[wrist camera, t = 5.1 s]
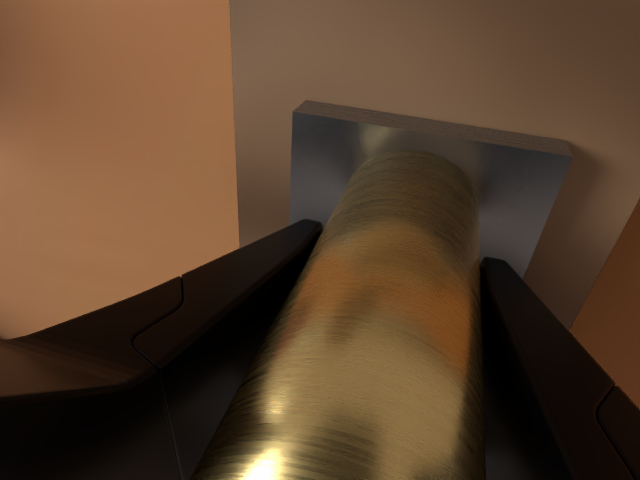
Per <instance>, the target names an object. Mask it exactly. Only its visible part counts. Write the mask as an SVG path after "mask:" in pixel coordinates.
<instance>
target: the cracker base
mask: <svg viewBox="0 0 640 480" xmlns="http://www.w3.org/2000/svg"><path fill="white" fill-rule="evenodd" d="M229 4H230V28H231V52H232V75H233V99H234V123H235V147H236V171H237V195H238V218H239V242H240V248H241V247H244V246H246V245H248V244H250V243H252V242H254V241H257V240H259V239H261V238H263V237H265V236H267V235H270V234H272V233H274V232H276V231H278V230H281V229H283V228H285V227H287V226H289V205H290V174H291V144H292V113H293V111H294V110H295V109H296V108H297V107H298V106H300V105H301V104H302V103H303V102H304V101H305V100H309V101H315V102H322V103H328V104H335V105H341V106H348V107H354V108H361V109H367V110H374V111H380V112H387V113H393V114H400V115H406V116H413V117H419V118H426V119H432V120H439V121H445V122H452V123H458V124H464V125H471V126H477V127H484V128H490V129H497V130H503V131H510V132H516V133H523V134H529V135H536V136H542V137H549V138H555V139H562V140H565V141H566V143H567V145H568V147H569V149H570V151H571V153H572V155H573V158H572V161H571V163H570V166H569V168H568V170H567V173H566V175H565V178H564V180H563V182H562V185H561V187H560V190H559V192H558V194H557V197H556V199H555V202H554V204H553V207H552V209H551V211H550V214H549V216H548V219H547V221H546V223H545V226H544V228H543V231H542V233H541V235H540V238H539V240H538V243H537V245H536V247H535V250H534V252H533V255H532V257H531V259H530V262H529V264H528V267H527V269H526V272H525V274H524V276H523V280H524V282H525V283H526V284H527V285H528V286H529V287H530V288H531V289H532V290H533V292H534V293H535V294H536V295H537V296H538V297H539V298H540V299H541V300H542V302H543V303H544V304H545V305H546V306H547V307H548V308H549V309H550V311H551V312H552V313H553V314H554V315H555V316H556V317H557V318H558V319H559V321H560V322H561V323H562V324H563V325H564V326H565V327H566V328H567V329H568V331H569V329H570V328H571V326H572V324H573V322H574V320H575V318H576V316H577V315H578V313H579V311H580V309H581V307H582V305H583V303H584V301H585V300H586V298H587V296H588V294H589V292H590V290H591V288H592V287H593V285H594V283H595V281H596V279H597V277H598V275H599V273H600V272H601V270H602V268H603V266H604V264H605V262H606V260H607V259H608V257H609V255H610V253H611V251H612V249H613V247H614V245H615V244H616V242H617V240H618V238H619V236H620V234H621V232H622V231H623V229H624V227H625V225H626V223H627V221H628V219H629V217H630V216H631V214H632V212H633V210H634V208H635V206H636V204H637V203H638V201H639V199H640V0H229Z"/></svg>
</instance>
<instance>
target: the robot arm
mask: <svg viewBox="0 0 640 480" xmlns="http://www.w3.org/2000/svg"><path fill="white" fill-rule="evenodd" d="M322 231H323V224H322V223H321V222H319V221H315V220H310V219H302V220H300V221H298V222H296V223H294V224H291V225H289V226H287V227H285V228H283V229H281V230H278V231H276V232H274V233H272V234H270V235H267V236H265V237H263V238H261V239H259V240H257V241H254V242H252V243H250V244H248V245H246V246H244V247H241V248H239V249H237V250H235V251H233V252H231V253H228V254H226V255H224V256H222V257H220V258H217V259H215V260H213V261H211V262H209V263H207V264H204V265H202V266H200V267H198V268H196V269H193V270H191V271H189V272H187V273H185V274H183V275H182V276H181V277H180V276H178V277H176V278H174V279H171V280H169V281H167V282H165V283H163V284H160V285H158V286H156V287H154V288H151V289H149V290H147V291H144V292H142V293H140V294H137V295H135V296H132V297H130V298H127V299H124V300H122V301H119V302H117V303H114V304H112V305H109V306H106V307H104V308H101V309H98V310H95V311H93V312H90V313H87V314H84V315H82V316H79V317H76V318H74V319H71V320H68V321H65V322H63V323H60V324H57V325H55V326H52V327H49V328H46V329H44V330H41V331H38V332H35V333H32V334H29V335H26V336H22V337H18V338H13V339H7V340H0V480H189V479H190V477H191V475H192V473H193V471H194V469H195V468H196V466H197V464H198V462H199V460H200V458H201V456H202V455H203V453H204V451H205V449H206V447H207V445H208V443H209V442H210V440H211V438H212V436H213V434H214V432H215V430H216V429H217V427H218V425H219V423H220V421H221V419H222V417H223V416H224V414H225V412H226V410H227V408H228V406H229V404H230V402H231V401H232V399H233V397H234V395H235V393H236V391H237V389H238V388H239V386H240V384H241V382H242V380H243V378H244V376H245V375H246V373H247V371H248V369H249V367H250V365H251V363H252V362H253V360H254V358H255V356H256V354H257V352H258V350H259V349H260V347H261V345H262V343H263V341H264V339H265V337H266V335H267V334H268V332H269V330H270V328H271V326H272V324H273V322H274V321H275V319H276V317H277V315H278V313H279V311H280V309H281V308H282V306H283V304H284V302H285V300H286V298H287V296H288V295H289V293H290V291H291V289H292V287H293V285H294V283H295V282H296V280H297V278H298V276H299V274H300V272H301V270H302V268H303V267H304V265H305V263H306V261H307V259H308V257H309V255H310V254H311V252H312V250H313V248H314V246H315V244H316V242H317V241H318V239H319V237H320V235H321V233H322ZM480 283H481V317H482V351H483V386H484V420H485V454H486V480H640V409H639V408H638V407H637V406H636V405H635V404H634V403H633V402H632V401H631V399H630V398H629V397H628V396H627V395H626V394H625V393H624V392H623V391H622V389H621V388H620V387H618V386H615V382H614V381H613V380H612V379H611V377H610V376H609V375H608V374H607V373H606V372H605V371H604V370H603V368H602V367H601V366H600V365H599V364H598V363H597V362H596V361H595V360H594V358H593V357H592V356H591V355H590V354H589V353H588V352H587V351H586V350H585V348H584V347H583V346H582V345H581V344H580V343H579V342H578V341H577V340H576V338H575V337H574V336H573V335H572V334H571V333H570V332H569V331H568V329H567V328H566V327H565V326H564V325H563V324H562V323H561V322H560V321H559V319H558V318H557V317H556V316H555V315H554V314H553V313H552V312H551V311H550V309H549V308H548V307H547V306H546V305H545V304H544V303H543V302H542V300H541V299H540V298H539V297H538V296H537V295H536V294H535V293H534V292H533V290H532V289H531V288H530V287H529V286H528V285H527V284H526V283H525V282H524V280H523V279H522V278H521V277H520V276H519V275H518V274H517V273H516V272H515V270H514V269H513V268H512V267H511V266H510V265H509V264H508V263H507V262H506V261H505V260H501V259H496V258H492V257H484V258H483V259H482V261H481V264H480ZM614 386H615V387H614Z"/></svg>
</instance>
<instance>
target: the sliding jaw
mask: <svg viewBox="0 0 640 480" xmlns="http://www.w3.org/2000/svg"><path fill="white" fill-rule="evenodd" d="M572 158H573V155H572V153H571V151H570V149H569V147H568V145H567V143H566V141H565V140H562V139H555V138H549V137H542V136H536V135H529V134H523V133H516V132H510V131H503V130H497V129H490V128H484V127H477V126H471V125H464V124H458V123H452V122H445V121H439V120H432V119H426V118H419V117H413V116H406V115H400V114H393V113H387V112H380V111H374V110H367V109H361V108H354V107H348V106H341V105H335V104H328V103H322V102H315V101H309V100H305V101H304V102H303V103H302V104H301V105H300V106H298V107H297V108H296V109H295V110H294V111H293V113H292V144H291V174H290V205H289V225H291V224H294V223H296V222H298V221H300V220H302V219H310V220H315V221H319V222H321V223H322V224H323V231H322V233H321V235H320V237H319V239H318V241H317V242H316V244H315V246H314V248H313V250H312V252H311V254H310V255H309V257H308V259H307V261H306V263H305V265H304V267H303V268H302V270H301V272H300V274H299V276H298V278H297V280H296V282H295V283H294V285H293V287H292V289H291V291H290V293H289V295H288V296H287V298H286V300H285V302H284V304H283V306H282V308H281V309H280V311H279V313H278V315H277V317H276V319H275V321H274V322H273V324H272V326H271V328H270V330H269V332H268V334H267V335H266V337H265V339H264V341H263V343H262V345H261V347H260V349H259V350H258V352H257V354H256V356H255V358H254V360H253V362H252V363H251V365H250V367H249V369H248V371H247V373H246V375H245V376H244V378H243V380H242V382H241V384H240V386H239V388H238V389H237V391H236V393H235V395H234V397H233V399H232V401H231V402H230V404H229V406H228V408H227V410H226V412H225V414H224V416H223V417H222V419H221V421H220V423H219V425H218V427H217V429H216V430H215V432H214V434H213V436H212V438H211V440H210V442H209V443H208V445H207V447H206V449H205V451H204V453H203V455H202V456H201V458H200V460H199V462H198V464H197V466H196V468H195V469H194V471H193V473H192V475H191V477H190V479H189V480H486V454H485V420H484V386H483V351H482V317H481V283H480V264H481V261H482V259H483V258H484V257H492V258H496V259H501V260H505V261H506V262H507V263H508V264H509V265H510V266H511V267H512V268H513V269H514V270H515V272H516V273H517V274H518V275H519V276H520V277H521V278H522V279H523V276H524V274H525V272H526V269H527V267H528V264H529V262H530V259H531V257H532V255H533V252H534V250H535V247H536V245H537V243H538V240H539V238H540V235H541V233H542V231H543V228H544V226H545V223H546V221H547V219H548V216H549V214H550V211H551V209H552V207H553V204H554V202H555V199H556V197H557V194H558V192H559V190H560V187H561V185H562V182H563V180H564V178H565V175H566V173H567V170H568V168H569V166H570V163H571V161H572Z"/></svg>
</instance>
